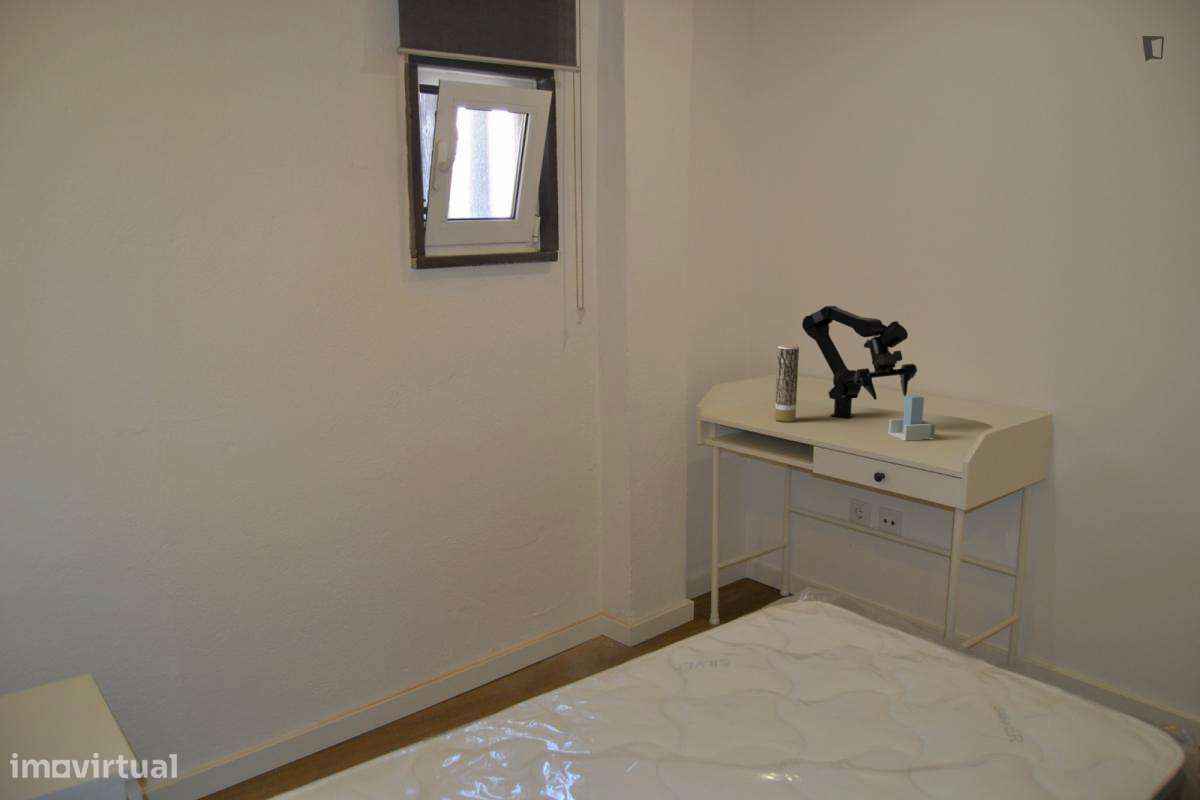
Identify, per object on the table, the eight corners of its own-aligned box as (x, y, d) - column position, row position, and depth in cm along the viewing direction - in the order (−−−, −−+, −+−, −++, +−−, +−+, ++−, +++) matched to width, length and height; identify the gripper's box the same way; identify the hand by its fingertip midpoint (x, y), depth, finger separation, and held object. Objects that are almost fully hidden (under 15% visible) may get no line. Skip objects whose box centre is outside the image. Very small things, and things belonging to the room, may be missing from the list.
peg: (902, 433, 271) (904, 395, 269) (913, 432, 272) (916, 395, 270) (909, 436, 267) (912, 397, 265) (921, 435, 268) (924, 397, 266)
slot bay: (904, 440, 264) (905, 425, 263) (887, 433, 273) (888, 419, 272) (933, 439, 266) (935, 424, 265) (915, 432, 275) (917, 418, 274)
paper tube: (796, 419, 293) (800, 345, 289) (794, 423, 287) (797, 347, 282) (776, 417, 296) (779, 344, 291) (773, 421, 289) (776, 346, 285)
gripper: (855, 345, 275) (865, 389, 268) (915, 339, 274) (926, 383, 267) (849, 361, 285) (859, 404, 278) (907, 355, 284) (918, 398, 277)
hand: (890, 397), depth 275 cm, fingers open, 9 cm apart
